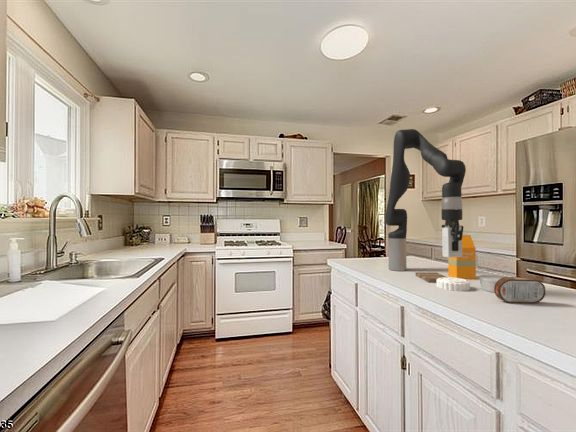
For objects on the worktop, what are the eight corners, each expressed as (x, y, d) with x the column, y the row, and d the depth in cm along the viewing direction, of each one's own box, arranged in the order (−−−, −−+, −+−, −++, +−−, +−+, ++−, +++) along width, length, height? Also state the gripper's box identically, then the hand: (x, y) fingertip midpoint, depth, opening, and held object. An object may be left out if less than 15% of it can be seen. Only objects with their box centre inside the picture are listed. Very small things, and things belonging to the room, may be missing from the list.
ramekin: (520, 295, 110) (520, 281, 110) (486, 294, 112) (486, 280, 112) (504, 288, 121) (504, 275, 121) (474, 287, 123) (474, 274, 123)
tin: (540, 301, 102) (540, 276, 102) (547, 304, 99) (547, 278, 99) (493, 300, 103) (493, 276, 103) (499, 303, 100) (498, 278, 100)
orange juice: (476, 279, 139) (475, 235, 139) (456, 279, 139) (456, 235, 139) (466, 275, 147) (466, 234, 147) (448, 275, 147) (447, 234, 147)
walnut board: (415, 275, 148) (415, 272, 148) (436, 275, 147) (436, 272, 147) (428, 282, 132) (428, 279, 132) (452, 282, 131) (452, 279, 131)
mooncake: (429, 286, 126) (429, 277, 126) (451, 283, 130) (451, 275, 130) (454, 292, 115) (454, 283, 115) (477, 290, 119) (477, 281, 119)
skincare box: (455, 256, 125) (455, 227, 125) (462, 257, 121) (462, 227, 121) (441, 256, 125) (441, 227, 125) (448, 257, 120) (448, 227, 120)
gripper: (434, 209, 130) (435, 248, 130) (450, 208, 116) (451, 252, 116) (452, 209, 130) (453, 248, 130) (470, 207, 115) (471, 252, 115)
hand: (452, 250), depth 123 cm, fingers closed on skincare box, 4 cm apart
